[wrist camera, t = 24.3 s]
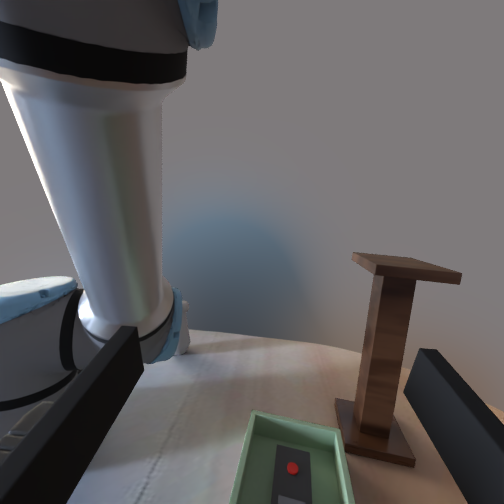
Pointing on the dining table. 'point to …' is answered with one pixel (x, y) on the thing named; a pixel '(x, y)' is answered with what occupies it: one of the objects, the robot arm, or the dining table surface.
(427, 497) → the dining table surface
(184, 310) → the salt shaker
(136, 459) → the dining table surface
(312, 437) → the tray
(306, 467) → the remote
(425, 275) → the stand
